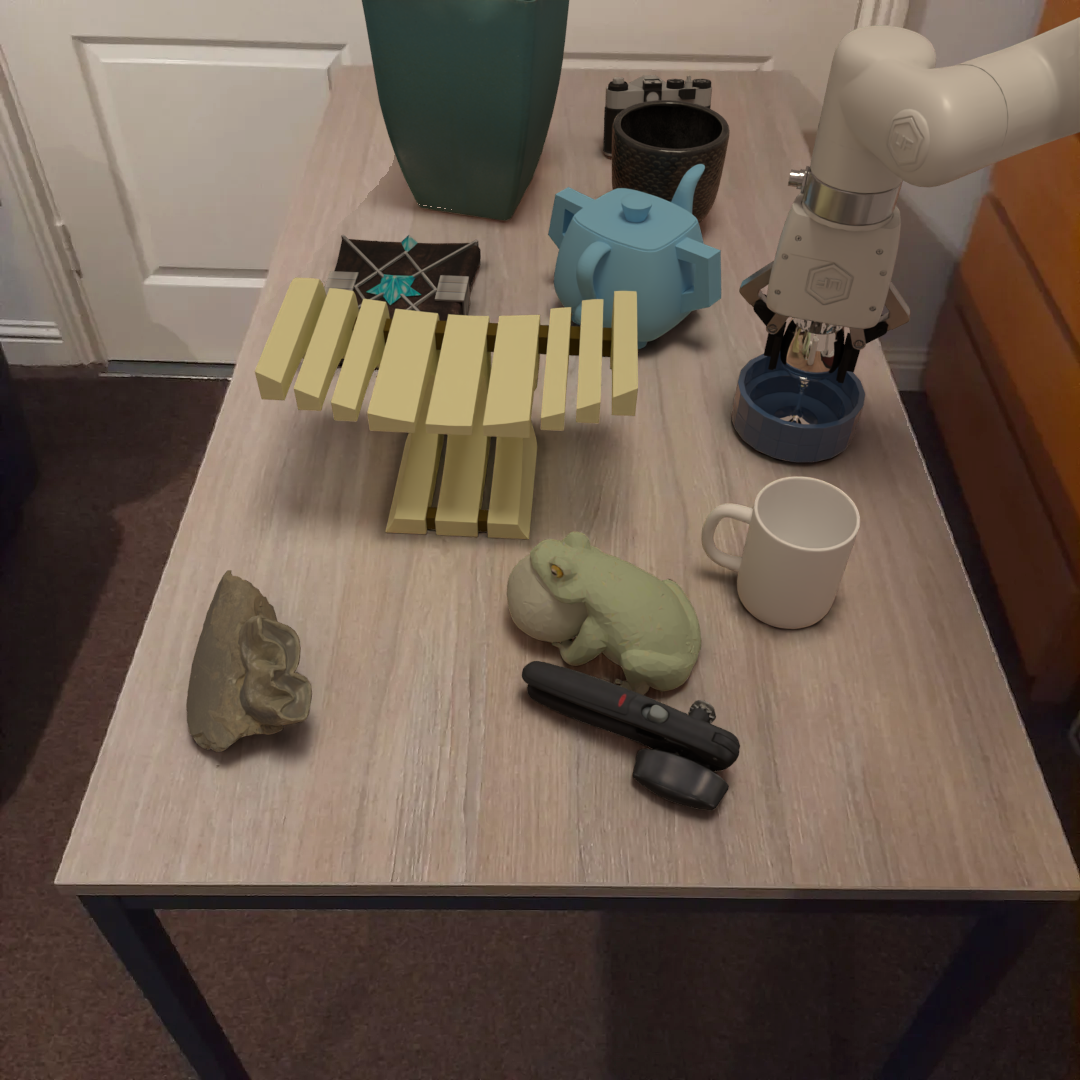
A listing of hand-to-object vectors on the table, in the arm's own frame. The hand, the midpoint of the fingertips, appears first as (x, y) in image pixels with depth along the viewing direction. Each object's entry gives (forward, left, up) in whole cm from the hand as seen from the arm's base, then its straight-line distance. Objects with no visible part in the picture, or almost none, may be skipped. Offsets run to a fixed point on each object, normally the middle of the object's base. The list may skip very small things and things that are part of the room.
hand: (807, 366), depth 96 cm
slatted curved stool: (+29, +17, -8) cm, 34 cm away
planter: (+21, -35, -8) cm, 42 cm away
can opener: (+8, +41, -8) cm, 42 cm away
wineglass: (0, 0, -7) cm, 7 cm away
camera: (+28, -57, -8) cm, 63 cm away
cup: (0, +22, -8) cm, 24 cm away
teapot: (+20, -15, -8) cm, 26 cm away
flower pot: (+46, -35, -8) cm, 58 cm away
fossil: (+34, +42, -4) cm, 54 cm away
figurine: (+12, +32, -8) cm, 35 cm away
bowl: (0, 0, -8) cm, 8 cm away
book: (+46, -6, -8) cm, 47 cm away
